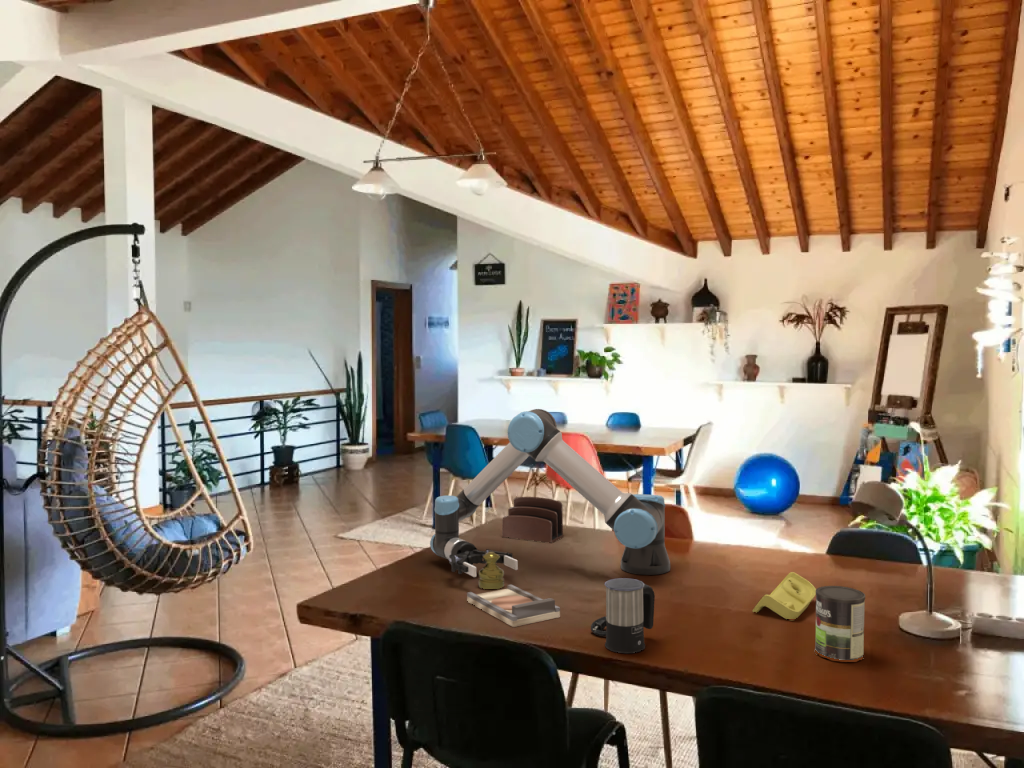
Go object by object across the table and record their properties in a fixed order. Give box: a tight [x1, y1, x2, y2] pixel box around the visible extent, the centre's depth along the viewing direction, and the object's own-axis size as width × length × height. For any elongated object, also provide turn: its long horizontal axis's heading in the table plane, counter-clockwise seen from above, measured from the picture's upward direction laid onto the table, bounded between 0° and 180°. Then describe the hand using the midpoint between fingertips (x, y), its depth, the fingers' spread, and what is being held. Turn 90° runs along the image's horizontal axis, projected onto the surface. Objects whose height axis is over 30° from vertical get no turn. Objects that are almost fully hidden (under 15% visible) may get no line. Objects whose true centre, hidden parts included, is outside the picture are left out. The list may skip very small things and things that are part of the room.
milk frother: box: [590, 577, 656, 654], centre depth 193 cm, size 14×16×15 cm
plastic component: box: [752, 571, 817, 620], centre depth 216 cm, size 20×7×10 cm
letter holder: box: [501, 496, 564, 544], centre depth 297 cm, size 10×20×14 cm, turn 62°
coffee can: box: [814, 585, 866, 660], centre depth 184 cm, size 10×10×14 cm
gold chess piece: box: [478, 552, 505, 590], centre depth 237 cm, size 7×7×10 cm
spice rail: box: [466, 584, 561, 628], centre depth 217 cm, size 24×14×4 cm, turn 31°
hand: (496, 568), depth 235 cm, fingers open, 13 cm apart
